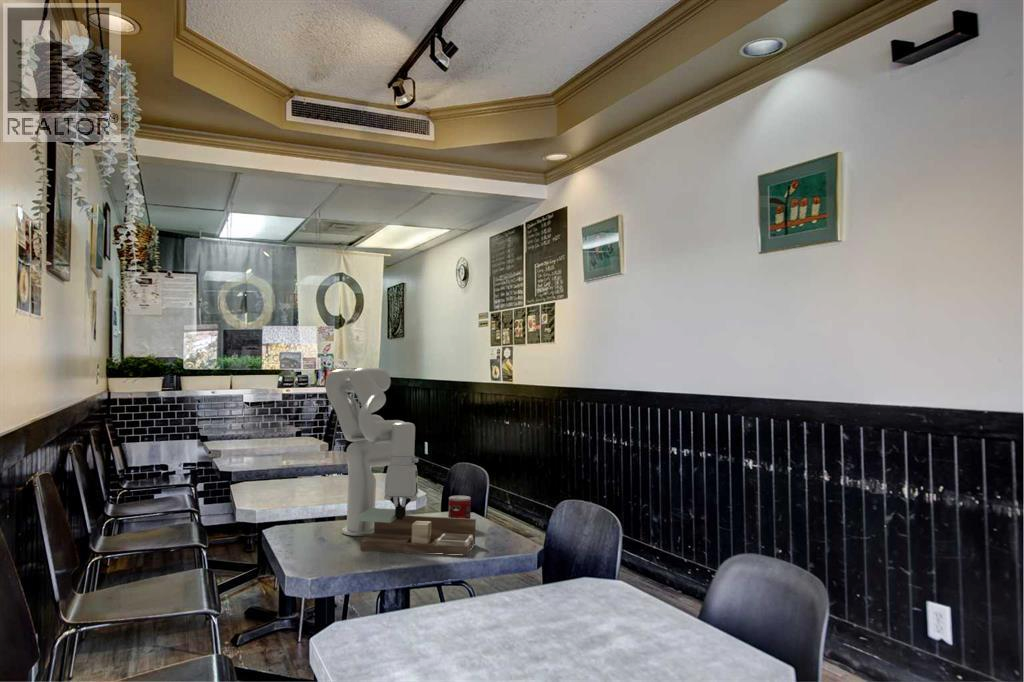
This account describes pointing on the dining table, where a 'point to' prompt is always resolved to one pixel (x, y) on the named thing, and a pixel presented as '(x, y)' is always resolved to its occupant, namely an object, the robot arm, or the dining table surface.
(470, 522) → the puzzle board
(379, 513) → the sliding cover
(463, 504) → the canned food
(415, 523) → the beech block
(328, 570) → the dining table surface
